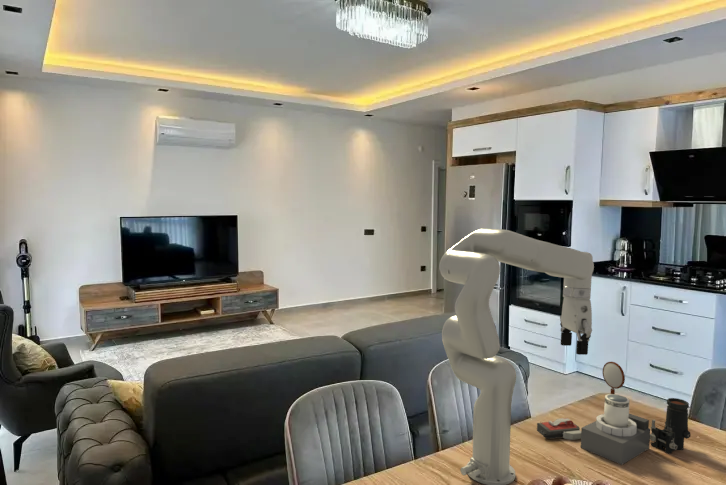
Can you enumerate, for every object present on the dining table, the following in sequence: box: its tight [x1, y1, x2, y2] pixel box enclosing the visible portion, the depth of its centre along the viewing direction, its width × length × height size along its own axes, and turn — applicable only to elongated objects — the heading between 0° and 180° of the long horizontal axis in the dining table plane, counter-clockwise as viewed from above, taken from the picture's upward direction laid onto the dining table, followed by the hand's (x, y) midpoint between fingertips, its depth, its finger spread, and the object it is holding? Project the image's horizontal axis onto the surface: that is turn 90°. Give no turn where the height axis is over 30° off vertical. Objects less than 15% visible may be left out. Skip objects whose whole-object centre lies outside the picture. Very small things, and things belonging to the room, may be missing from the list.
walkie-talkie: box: [536, 417, 581, 441], centre depth 155 cm, size 9×4×20 cm
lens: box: [603, 393, 630, 428], centre depth 145 cm, size 6×6×9 cm
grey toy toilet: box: [580, 413, 651, 466], centre depth 146 cm, size 16×12×8 cm
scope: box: [650, 397, 692, 455], centre depth 146 cm, size 8×14×10 cm
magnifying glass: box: [602, 361, 626, 394], centre depth 163 cm, size 9×2×20 cm, turn 18°
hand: (573, 349), depth 149 cm, fingers open, 9 cm apart
